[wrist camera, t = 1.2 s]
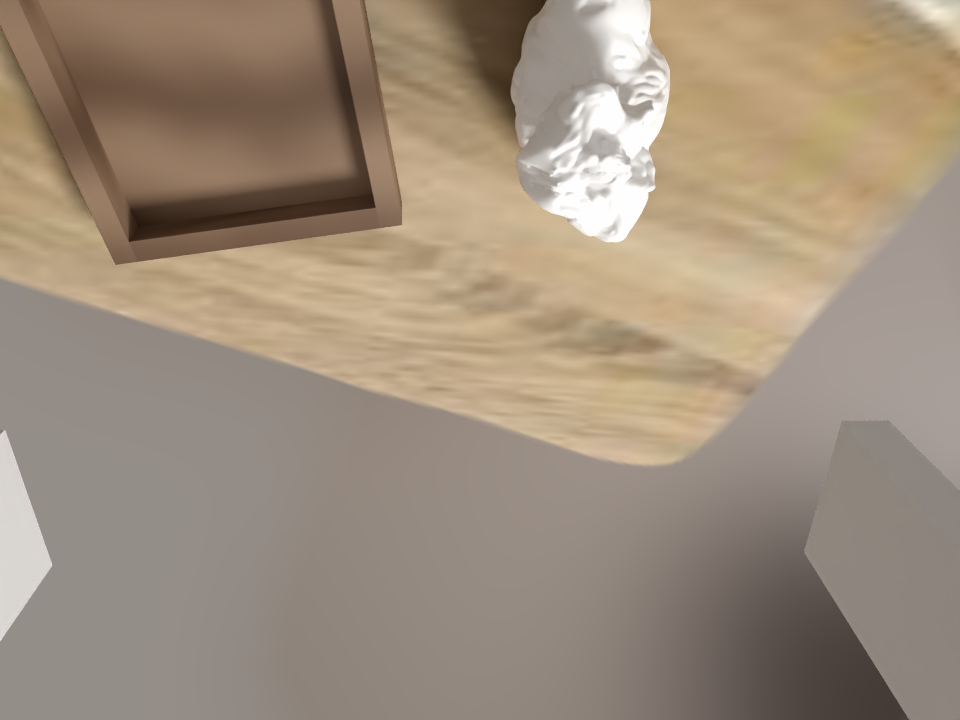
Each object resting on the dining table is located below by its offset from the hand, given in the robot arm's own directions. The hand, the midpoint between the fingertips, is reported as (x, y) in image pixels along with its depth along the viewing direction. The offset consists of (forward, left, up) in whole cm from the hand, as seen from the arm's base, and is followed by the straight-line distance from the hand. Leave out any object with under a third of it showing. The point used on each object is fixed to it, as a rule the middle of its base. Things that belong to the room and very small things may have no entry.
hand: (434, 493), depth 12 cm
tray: (-1, -8, -24) cm, 25 cm away
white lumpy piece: (+1, +7, -24) cm, 25 cm away
